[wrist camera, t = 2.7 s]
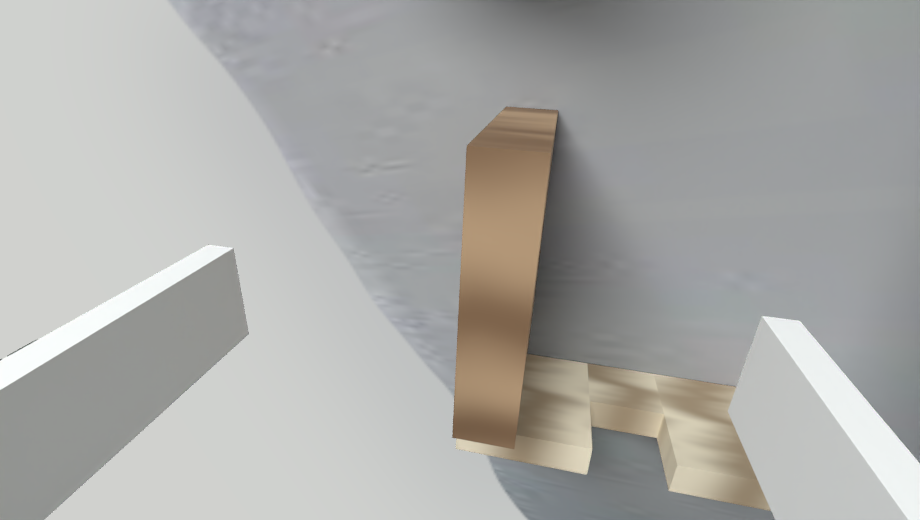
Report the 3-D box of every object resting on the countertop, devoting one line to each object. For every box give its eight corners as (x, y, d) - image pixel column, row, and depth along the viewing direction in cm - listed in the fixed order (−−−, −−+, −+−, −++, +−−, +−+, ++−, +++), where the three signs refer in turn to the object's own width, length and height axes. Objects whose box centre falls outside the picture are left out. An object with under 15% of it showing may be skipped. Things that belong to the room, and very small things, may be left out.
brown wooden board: (506, 106, 28) (466, 145, 17) (558, 110, 27) (551, 152, 16) (489, 312, 34) (452, 437, 23) (531, 318, 33) (514, 449, 22)
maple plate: (478, 368, 36) (455, 448, 29) (479, 346, 35) (457, 423, 28) (765, 416, 32) (821, 521, 25) (775, 393, 32) (835, 494, 24)
